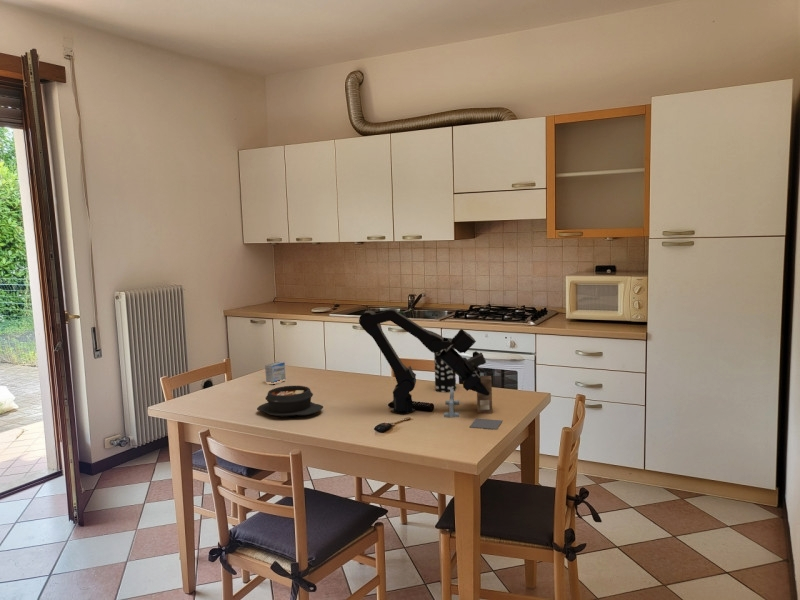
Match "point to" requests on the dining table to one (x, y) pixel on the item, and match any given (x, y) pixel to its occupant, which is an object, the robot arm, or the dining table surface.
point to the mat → (486, 423)
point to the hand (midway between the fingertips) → (488, 392)
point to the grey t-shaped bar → (451, 405)
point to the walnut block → (485, 396)
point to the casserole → (290, 402)
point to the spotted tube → (444, 376)
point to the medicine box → (275, 372)
